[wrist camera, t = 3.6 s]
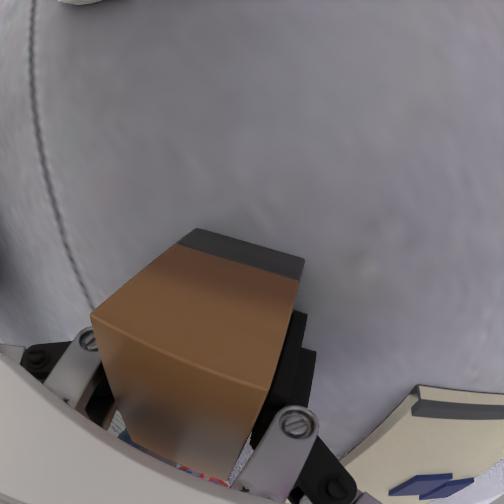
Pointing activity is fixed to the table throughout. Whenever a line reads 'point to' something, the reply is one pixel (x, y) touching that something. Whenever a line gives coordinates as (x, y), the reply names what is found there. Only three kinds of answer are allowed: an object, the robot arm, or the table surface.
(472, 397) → the board
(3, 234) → the table surface
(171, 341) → the eraser
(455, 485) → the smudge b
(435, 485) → the blue square tile
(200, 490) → the robot arm
